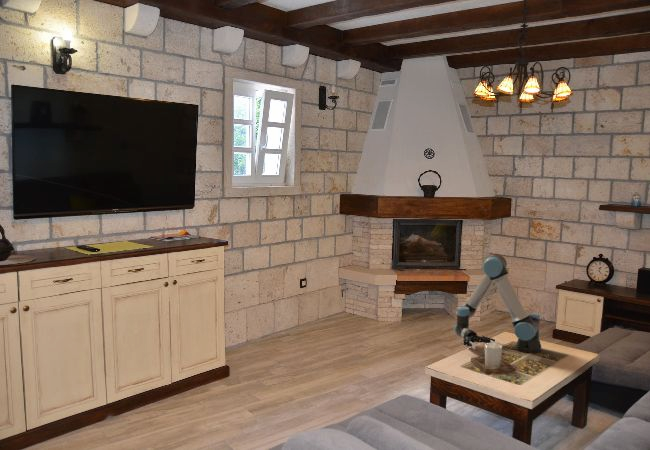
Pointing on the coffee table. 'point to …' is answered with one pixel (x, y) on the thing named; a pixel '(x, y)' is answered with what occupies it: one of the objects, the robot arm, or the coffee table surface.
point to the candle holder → (493, 355)
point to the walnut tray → (503, 367)
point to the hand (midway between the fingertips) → (485, 346)
